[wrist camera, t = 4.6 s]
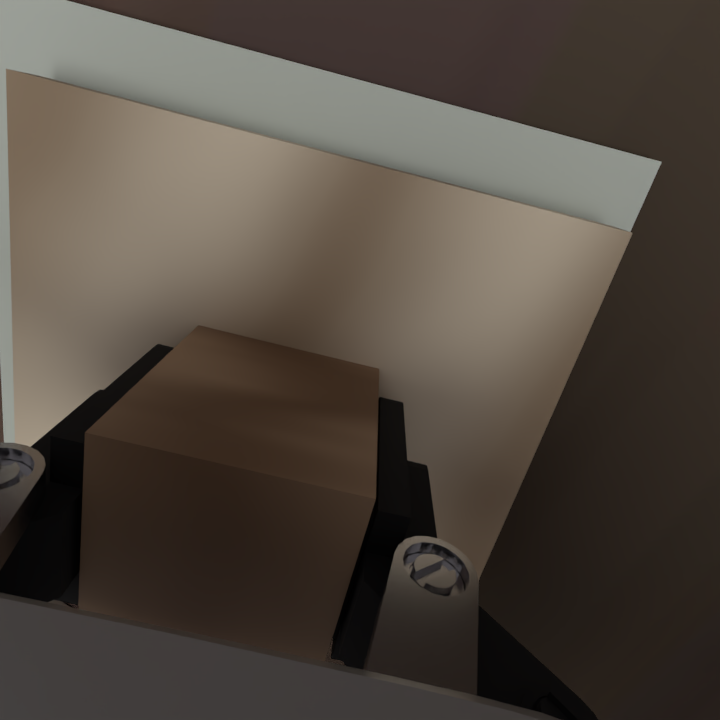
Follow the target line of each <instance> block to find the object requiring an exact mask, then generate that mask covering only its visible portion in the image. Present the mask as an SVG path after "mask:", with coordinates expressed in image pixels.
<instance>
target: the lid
mask: <svg viewBox="0 0 720 720" xmlns="http://www.w3.org/2000/svg"><path fill="white" fill-rule="evenodd" d="M6 94H7V135H8V177H9V218H10V260H11V301H12V343H13V384H14V426H15V443H17V444H22V445H27V446H29V447H31V446H32V445H33V444H34V443H36V442H37V441H38V440H39V439H40V438H42V437H43V436H44V435H45V434H46V433H47V432H49V431H50V430H51V429H52V428H53V427H55V426H56V425H57V424H58V423H59V422H61V421H62V420H63V419H64V418H65V417H66V416H68V415H69V414H70V413H71V412H72V411H74V410H75V409H76V408H77V407H78V406H79V405H81V404H82V403H83V402H84V401H85V400H87V399H88V398H89V397H90V396H91V395H93V394H94V393H95V392H97V391H98V390H104V389H105V388H107V387H108V386H109V385H110V384H111V383H112V382H113V381H115V380H116V379H117V378H118V377H119V376H120V375H122V374H123V373H124V372H125V371H126V370H127V369H129V368H130V367H131V366H132V365H133V364H134V363H136V362H137V361H138V360H139V359H140V358H141V357H143V356H144V355H145V354H146V353H147V352H148V351H150V350H151V349H152V348H153V347H154V346H155V345H157V344H161V345H165V346H169V347H174V349H173V350H172V351H171V352H169V353H168V354H167V355H166V356H165V357H164V358H163V359H162V360H161V361H160V362H159V363H158V364H157V365H156V366H155V367H154V368H153V369H151V370H150V371H149V372H148V373H147V374H146V375H145V376H144V377H143V378H142V379H141V380H140V381H139V382H138V383H137V384H136V385H135V386H134V387H132V388H131V389H130V390H129V391H128V392H127V393H126V394H125V395H124V396H123V397H122V398H121V399H120V400H119V401H118V402H117V403H116V404H114V405H113V406H112V407H111V408H110V409H109V410H108V411H107V412H106V413H105V414H104V415H103V416H102V417H101V418H100V419H99V420H98V421H97V422H95V423H94V424H93V425H92V426H91V427H90V428H89V429H88V430H87V431H86V432H85V442H84V469H83V495H82V521H81V548H80V574H79V600H78V609H82V610H86V611H91V612H96V613H101V614H105V615H110V616H115V617H120V618H124V619H129V620H134V621H139V622H144V623H148V624H153V625H158V626H162V627H167V628H172V629H176V630H181V631H186V632H191V633H195V634H200V635H205V636H209V637H214V638H219V639H224V640H228V641H233V642H238V643H242V644H247V645H252V646H256V647H261V648H265V649H270V650H275V651H279V652H284V653H288V654H293V655H298V656H302V657H307V658H311V659H316V660H321V661H325V660H326V656H327V653H328V650H329V647H330V644H331V640H332V637H333V634H334V631H335V628H336V625H337V621H338V618H339V615H340V612H341V609H342V605H343V602H344V599H345V596H346V593H347V589H348V586H349V583H350V580H351V577H352V573H353V570H354V567H355V564H356V561H357V558H358V554H359V551H360V548H361V545H362V542H363V538H364V535H365V532H366V529H367V526H368V522H369V519H370V516H371V513H372V510H373V507H374V503H375V500H376V473H377V435H378V399H379V397H383V398H387V399H391V400H395V401H400V402H403V406H404V420H405V434H406V448H407V460H408V461H412V462H416V463H421V464H425V465H427V467H428V472H429V480H430V487H431V495H432V502H433V510H434V517H435V525H436V532H437V539H441V540H443V541H445V542H447V543H449V544H451V545H453V546H454V547H456V548H457V549H458V550H460V551H461V552H462V553H463V554H464V555H465V556H466V557H467V558H468V559H469V560H470V561H471V562H472V564H473V566H474V568H475V570H476V572H477V575H478V580H479V578H480V576H481V574H482V571H483V569H484V567H485V565H486V562H487V560H488V558H489V556H490V553H491V551H492V549H493V547H494V544H495V542H496V540H497V538H498V535H499V533H500V531H501V529H502V526H503V524H504V522H505V520H506V517H507V515H508V513H509V511H510V508H511V506H512V504H513V502H514V499H515V497H516V495H517V493H518V490H519V488H520V486H521V484H522V481H523V479H524V477H525V475H526V472H527V470H528V468H529V466H530V463H531V461H532V459H533V457H534V454H535V452H536V450H537V448H538V445H539V443H540V441H541V439H542V436H543V434H544V432H545V430H546V427H547V425H548V423H549V420H550V418H551V416H552V414H553V411H554V409H555V407H556V405H557V402H558V400H559V398H560V396H561V393H562V391H563V389H564V387H565V384H566V382H567V380H568V378H569V375H570V373H571V371H572V369H573V366H574V364H575V362H576V360H577V357H578V355H579V353H580V351H581V348H582V346H583V344H584V342H585V339H586V337H587V335H588V333H589V330H590V328H591V326H592V324H593V321H594V319H595V317H596V315H597V312H598V310H599V308H600V306H601V303H602V301H603V299H604V297H605V294H606V292H607V290H608V288H609V285H610V283H611V281H612V279H613V276H614V274H615V272H616V270H617V267H618V265H619V263H620V261H621V258H622V256H623V254H624V252H625V249H626V247H627V245H628V243H629V240H630V238H631V236H632V234H633V233H631V232H628V231H625V230H622V229H619V228H616V227H614V226H610V225H607V224H603V223H599V222H595V221H591V220H587V219H584V218H580V217H576V216H572V215H568V214H565V213H561V212H557V211H553V210H549V209H546V208H542V207H538V206H534V205H530V204H526V203H523V202H519V201H515V200H511V199H507V198H504V197H500V196H496V195H492V194H488V193H485V192H481V191H477V190H473V189H469V188H466V187H462V186H458V185H454V184H450V183H446V182H443V181H439V180H435V179H431V178H427V177H424V176H420V175H416V174H412V173H408V172H405V171H401V170H397V169H393V168H389V167H385V166H382V165H378V164H374V163H370V162H366V161H363V160H359V159H355V158H351V157H347V156H344V155H340V154H336V153H332V152H328V151H325V150H321V149H317V148H313V147H309V146H305V145H302V144H298V143H294V142H290V141H286V140H283V139H279V138H275V137H271V136H267V135H264V134H260V133H256V132H252V131H248V130H244V129H241V128H237V127H233V126H229V125H225V124H222V123H218V122H214V121H210V120H206V119H203V118H199V117H195V116H191V115H187V114H184V113H180V112H176V111H172V110H168V109H164V108H161V107H157V106H153V105H149V104H145V103H142V102H138V101H134V100H130V99H126V98H123V97H119V96H115V95H111V94H107V93H103V92H100V91H96V90H92V89H88V88H84V87H81V86H77V85H73V84H69V83H65V82H62V81H58V80H54V79H50V78H46V77H42V76H38V75H34V74H29V73H24V72H19V71H15V70H10V69H6Z"/></svg>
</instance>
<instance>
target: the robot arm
mask: <svg viewBox="0 0 720 720" xmlns="http://www.w3.org/2000/svg"><path fill="white" fill-rule="evenodd" d="M173 349H174V347H169V346H165V345H161V344H157V345H155V346H154V347H153V348H152V349H151V350H150V351H148V352H147V353H146V354H145V355H144V356H143V357H141V358H140V359H139V360H138V361H137V362H136V363H134V364H133V365H132V366H131V367H130V368H129V369H127V370H126V371H125V372H124V373H123V374H122V375H120V376H119V377H118V378H117V379H116V380H115V381H113V382H112V383H111V384H110V385H109V386H108V387H107V388H105V389H104V390H98V391H97V392H95V393H94V394H93V395H91V396H90V397H89V398H88V399H87V400H85V401H84V402H83V403H82V404H81V405H79V406H78V407H77V408H76V409H75V410H74V411H72V412H71V413H70V414H69V415H68V416H66V417H65V418H64V419H63V420H62V421H61V422H59V423H58V424H57V425H56V426H55V427H53V428H52V429H51V430H50V431H49V432H47V433H46V434H45V435H44V436H43V437H42V438H40V439H39V440H38V441H37V442H36V443H34V444H33V445H32V446H31V447H29V446H27V445H22V444H17V443H4V442H0V720H598V719H597V717H596V716H595V714H594V713H593V712H592V711H591V710H590V709H589V708H588V706H587V705H586V704H585V703H584V702H583V701H582V700H581V699H580V698H579V697H578V696H577V695H576V694H575V693H574V692H572V691H571V690H570V689H569V688H568V687H567V686H566V685H565V684H564V683H563V682H562V681H560V680H559V679H558V678H557V677H556V676H555V675H554V674H553V673H552V672H551V671H550V670H549V669H547V668H546V667H545V666H544V665H543V664H542V663H541V662H540V661H539V660H538V659H537V658H535V657H534V656H533V655H532V654H531V653H530V652H529V651H528V650H527V649H526V648H525V647H523V646H522V645H521V644H520V643H519V642H518V641H517V640H516V639H515V638H514V637H513V636H511V635H510V634H509V633H508V632H507V631H506V630H505V629H504V628H503V627H502V626H501V625H500V624H498V623H497V622H496V621H495V620H494V619H493V618H492V617H491V616H490V615H489V614H488V613H486V612H485V611H484V610H483V609H482V608H481V607H480V606H479V581H478V575H477V572H476V570H475V568H474V566H473V564H472V562H471V561H470V560H469V559H468V558H467V557H466V556H465V555H464V554H463V553H462V552H461V551H460V550H458V549H457V548H456V547H454V546H453V545H451V544H449V543H447V542H445V541H443V540H441V539H437V532H436V525H435V517H434V510H433V502H432V495H431V487H430V480H429V472H428V467H427V465H425V464H421V463H416V462H412V461H408V460H407V448H406V434H405V420H404V406H403V402H400V401H395V400H391V399H387V398H383V397H379V399H378V435H377V473H376V500H375V503H374V507H373V510H372V513H371V516H370V519H369V522H368V526H367V529H366V532H365V535H364V538H363V542H362V545H361V548H360V551H359V554H358V558H357V561H356V564H355V567H354V570H353V573H352V577H351V580H350V583H349V586H348V589H347V593H346V596H345V599H344V602H343V605H342V609H341V612H340V615H339V618H338V621H337V625H336V628H335V631H334V634H333V637H332V638H333V644H332V653H331V658H332V659H336V660H341V661H343V662H344V664H345V665H346V666H344V665H339V664H334V663H330V662H325V661H321V660H316V659H311V658H307V657H302V656H298V655H293V654H288V653H284V652H279V651H275V650H270V649H265V648H261V647H256V646H252V645H247V644H242V643H238V642H233V641H228V640H224V639H219V638H214V637H209V636H205V635H200V634H195V633H191V632H186V631H181V630H176V629H172V628H167V627H162V626H158V625H153V624H148V623H144V622H139V621H134V620H129V619H124V618H120V617H115V616H110V615H105V614H101V613H96V612H91V611H86V610H82V609H77V608H72V607H67V606H63V605H58V604H53V603H48V602H49V601H52V600H58V601H62V602H67V603H72V604H76V605H78V600H79V574H80V548H81V521H82V495H83V469H84V442H85V432H86V431H87V430H88V429H89V428H90V427H91V426H92V425H93V424H94V423H95V422H97V421H98V420H99V419H100V418H101V417H102V416H103V415H104V414H105V413H106V412H107V411H108V410H109V409H110V408H111V407H112V406H113V405H114V404H116V403H117V402H118V401H119V400H120V399H121V398H122V397H123V396H124V395H125V394H126V393H127V392H128V391H129V390H130V389H131V388H132V387H134V386H135V385H136V384H137V383H138V382H139V381H140V380H141V379H142V378H143V377H144V376H145V375H146V374H147V373H148V372H149V371H150V370H151V369H153V368H154V367H155V366H156V365H157V364H158V363H159V362H160V361H161V360H162V359H163V358H164V357H165V356H166V355H167V354H168V353H169V352H171V351H172V350H173Z"/></svg>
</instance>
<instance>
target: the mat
mask: <svg viewBox="0 0 720 720" xmlns="http://www.w3.org/2000/svg"><path fill="white" fill-rule="evenodd" d="M6 69H10V70H15V71H19V72H24V73H29V74H34V75H38V76H42V77H46V78H50V79H54V80H58V81H62V82H65V83H69V84H73V85H77V86H81V87H84V88H88V89H92V90H96V91H100V92H103V93H107V94H111V95H115V96H119V97H123V98H126V99H130V100H134V101H138V102H142V103H145V104H149V105H153V106H157V107H161V108H164V109H168V110H172V111H176V112H180V113H184V114H187V115H191V116H195V117H199V118H203V119H206V120H210V121H214V122H218V123H222V124H225V125H229V126H233V127H237V128H241V129H244V130H248V131H252V132H256V133H260V134H264V135H267V136H271V137H275V138H279V139H283V140H286V141H290V142H294V143H298V144H302V145H305V146H309V147H313V148H317V149H321V150H325V151H328V152H332V153H336V154H340V155H344V156H347V157H351V158H355V159H359V160H363V161H366V162H370V163H374V164H378V165H382V166H385V167H389V168H393V169H397V170H401V171H405V172H408V173H412V174H416V175H420V176H424V177H427V178H431V179H435V180H439V181H443V182H446V183H450V184H454V185H458V186H462V187H466V188H469V189H473V190H477V191H481V192H485V193H488V194H492V195H496V196H500V197H504V198H507V199H511V200H515V201H519V202H523V203H526V204H530V205H534V206H538V207H542V208H546V209H549V210H553V211H557V212H561V213H565V214H568V215H572V216H576V217H580V218H584V219H587V220H591V221H595V222H599V223H603V224H607V225H610V226H614V227H616V228H619V229H622V230H625V231H628V232H630V231H631V229H632V227H633V225H634V222H635V220H636V218H637V216H638V214H639V211H640V209H641V207H642V205H643V202H644V200H645V198H646V196H647V194H648V191H649V189H650V187H651V185H652V182H653V180H654V178H655V176H656V174H657V171H658V169H659V167H660V165H661V162H660V161H656V160H653V159H649V158H645V157H642V156H638V155H634V154H631V153H627V152H623V151H620V150H616V149H612V148H608V147H605V146H601V145H597V144H594V143H590V142H586V141H583V140H579V139H575V138H572V137H568V136H564V135H561V134H557V133H553V132H550V131H546V130H542V129H539V128H535V127H531V126H527V125H524V124H520V123H516V122H513V121H509V120H505V119H502V118H498V117H494V116H491V115H487V114H483V113H480V112H476V111H472V110H469V109H465V108H461V107H457V106H454V105H450V104H446V103H443V102H439V101H435V100H432V99H428V98H424V97H421V96H417V95H413V94H410V93H406V92H402V91H399V90H395V89H391V88H387V87H384V86H380V85H376V84H373V83H369V82H365V81H362V80H358V79H354V78H351V77H347V76H343V75H340V74H336V73H332V72H329V71H325V70H321V69H318V68H314V67H310V66H306V65H303V64H299V63H295V62H292V61H288V60H284V59H281V58H277V57H273V56H270V55H266V54H262V53H259V52H255V51H251V50H248V49H244V48H240V47H236V46H233V45H229V44H225V43H222V42H218V41H214V40H211V39H207V38H203V37H200V36H196V35H192V34H189V33H185V32H181V31H178V30H174V29H170V28H167V27H163V26H159V25H155V24H152V23H148V22H144V21H141V20H137V19H133V18H130V17H126V16H122V15H119V14H115V13H111V12H108V11H104V10H100V9H97V8H93V7H89V6H85V5H82V4H78V3H74V2H71V1H67V0H0V366H1V387H2V409H3V430H4V443H15V426H14V384H13V343H12V301H11V260H10V218H9V177H8V135H7V94H6Z"/></svg>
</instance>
